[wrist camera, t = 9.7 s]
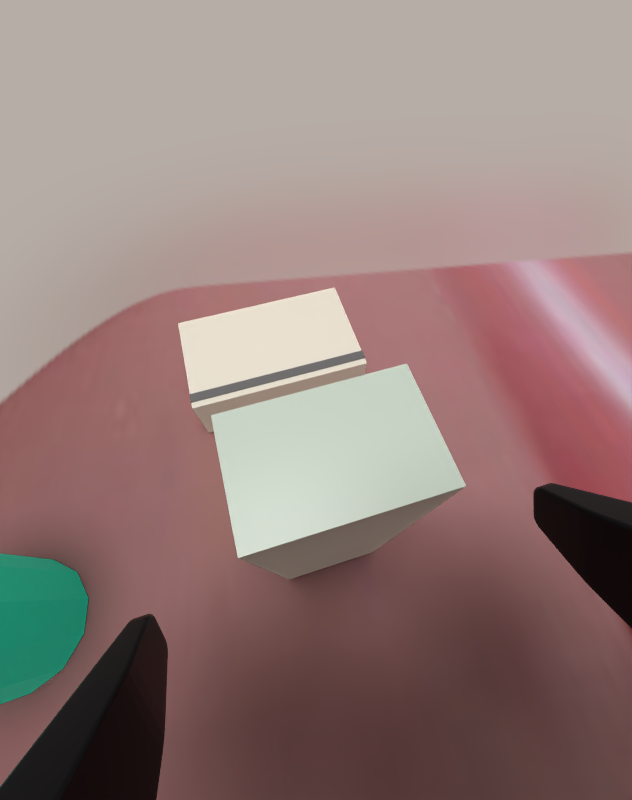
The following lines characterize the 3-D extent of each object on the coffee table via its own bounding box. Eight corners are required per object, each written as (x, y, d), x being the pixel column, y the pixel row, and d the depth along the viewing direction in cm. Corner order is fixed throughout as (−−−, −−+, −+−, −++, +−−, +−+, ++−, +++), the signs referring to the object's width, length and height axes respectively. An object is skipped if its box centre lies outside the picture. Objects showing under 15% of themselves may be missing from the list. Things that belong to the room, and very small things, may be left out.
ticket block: (360, 392, 25) (366, 362, 21) (208, 432, 23) (191, 407, 20) (332, 322, 27) (334, 286, 24) (194, 355, 26) (177, 322, 23)
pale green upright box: (372, 551, 20) (466, 486, 7) (289, 579, 19) (237, 557, 7) (353, 496, 21) (406, 361, 9) (274, 520, 21) (210, 413, 8)
